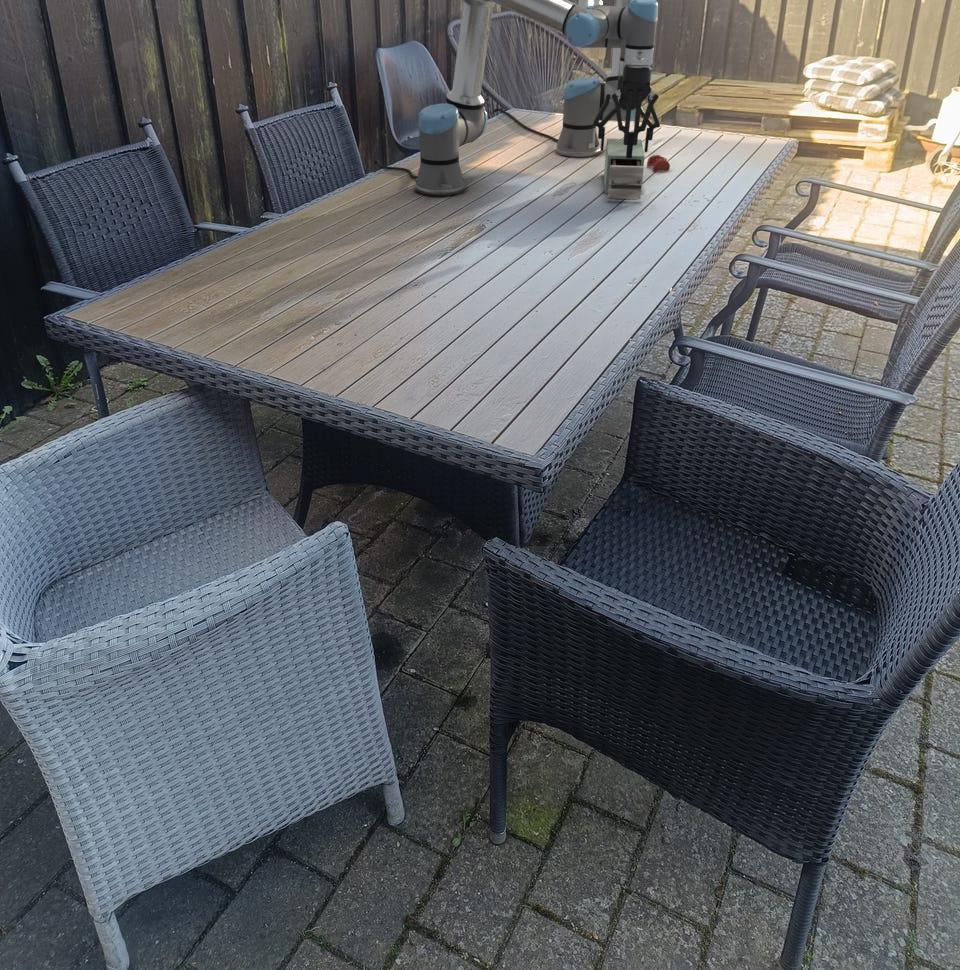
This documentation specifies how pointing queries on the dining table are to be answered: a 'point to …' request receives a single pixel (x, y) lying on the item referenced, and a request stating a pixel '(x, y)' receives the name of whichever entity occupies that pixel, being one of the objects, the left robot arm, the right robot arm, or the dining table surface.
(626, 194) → the drawer
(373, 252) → the dining table surface
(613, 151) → the cabinet
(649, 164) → the red-brown rounded lump
